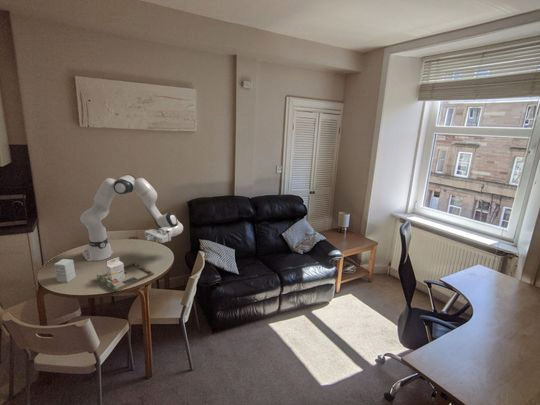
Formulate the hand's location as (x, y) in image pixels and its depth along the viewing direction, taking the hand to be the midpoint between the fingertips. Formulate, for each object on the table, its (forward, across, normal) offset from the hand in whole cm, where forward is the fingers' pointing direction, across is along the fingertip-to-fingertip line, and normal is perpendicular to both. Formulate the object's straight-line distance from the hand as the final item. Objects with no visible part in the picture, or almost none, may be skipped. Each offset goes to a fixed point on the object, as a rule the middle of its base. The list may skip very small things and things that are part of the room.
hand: (146, 238), depth 199 cm
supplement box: (+41, -25, +23) cm, 54 cm away
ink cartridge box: (+22, 0, +23) cm, 32 cm away
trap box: (+16, +1, +22) cm, 28 cm away
